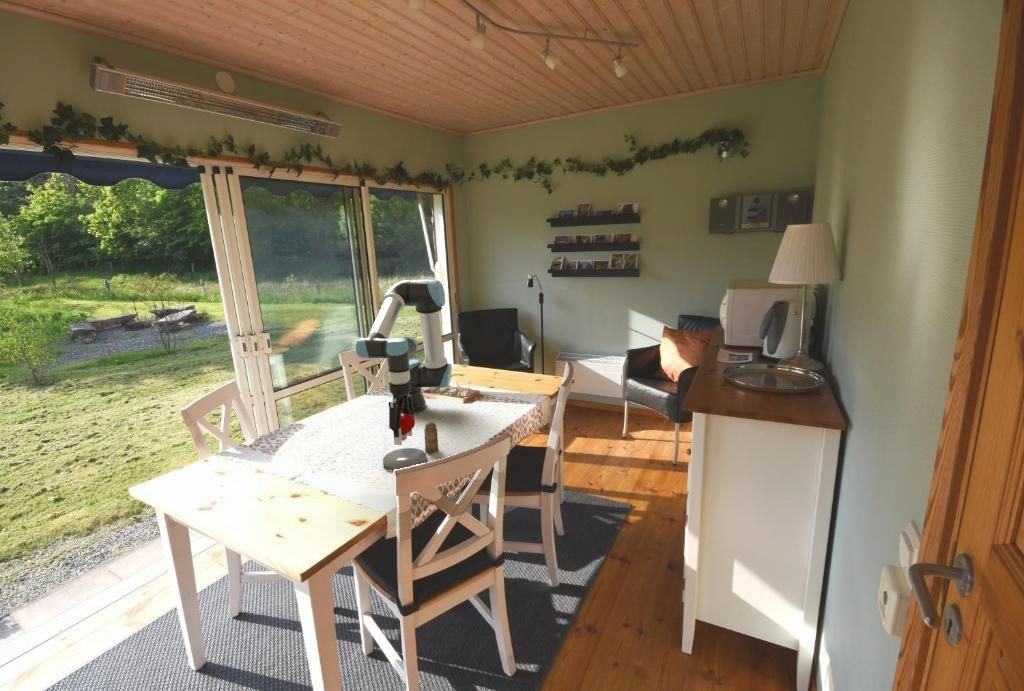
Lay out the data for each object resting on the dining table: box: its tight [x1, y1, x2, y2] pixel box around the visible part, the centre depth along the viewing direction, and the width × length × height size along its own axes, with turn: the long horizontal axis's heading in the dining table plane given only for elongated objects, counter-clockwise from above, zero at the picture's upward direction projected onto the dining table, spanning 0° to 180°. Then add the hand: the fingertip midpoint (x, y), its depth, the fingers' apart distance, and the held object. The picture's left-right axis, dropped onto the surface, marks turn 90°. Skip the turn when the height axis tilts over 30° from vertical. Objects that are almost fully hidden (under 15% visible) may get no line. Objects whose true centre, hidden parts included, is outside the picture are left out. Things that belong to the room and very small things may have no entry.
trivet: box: [382, 447, 427, 472], centre depth 179 cm, size 16×16×2 cm
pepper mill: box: [423, 421, 439, 454], centre depth 187 cm, size 5×5×12 cm
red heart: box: [391, 414, 416, 442], centre depth 176 cm, size 9×7×10 cm
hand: (403, 439), depth 177 cm, fingers closed on red heart, 7 cm apart
